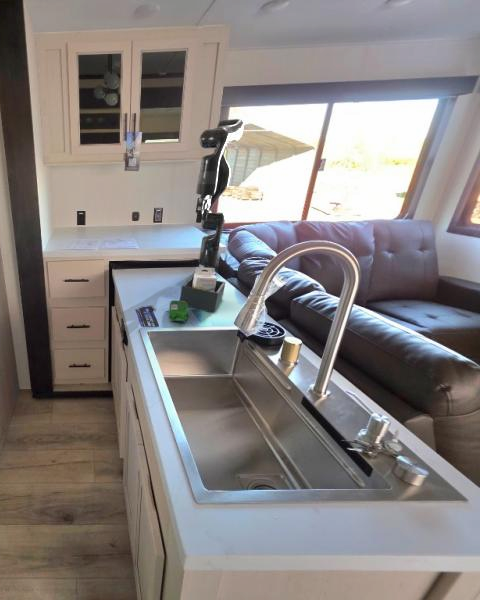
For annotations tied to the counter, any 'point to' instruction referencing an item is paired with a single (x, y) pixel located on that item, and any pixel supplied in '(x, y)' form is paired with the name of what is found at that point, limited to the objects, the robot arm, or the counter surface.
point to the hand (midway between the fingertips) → (201, 221)
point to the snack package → (178, 311)
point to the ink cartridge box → (204, 279)
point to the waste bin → (202, 296)
